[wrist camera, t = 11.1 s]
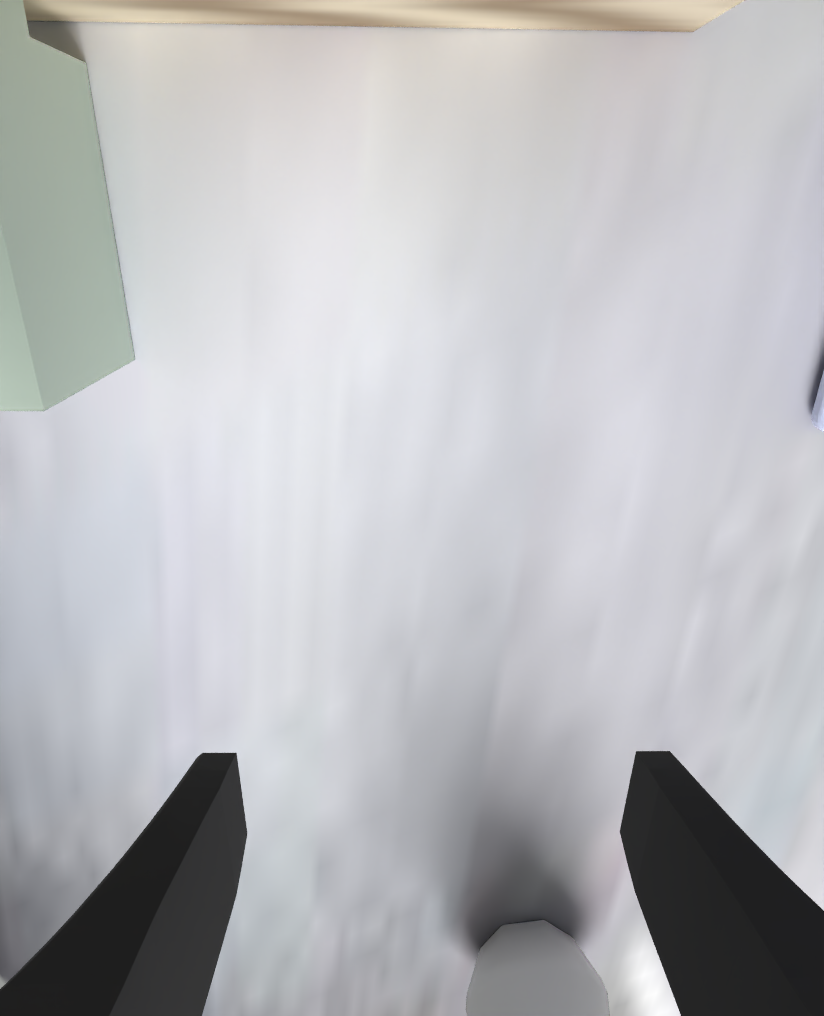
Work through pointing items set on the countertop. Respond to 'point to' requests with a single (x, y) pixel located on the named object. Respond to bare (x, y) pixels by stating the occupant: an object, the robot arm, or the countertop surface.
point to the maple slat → (397, 13)
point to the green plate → (53, 229)
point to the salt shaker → (534, 975)
